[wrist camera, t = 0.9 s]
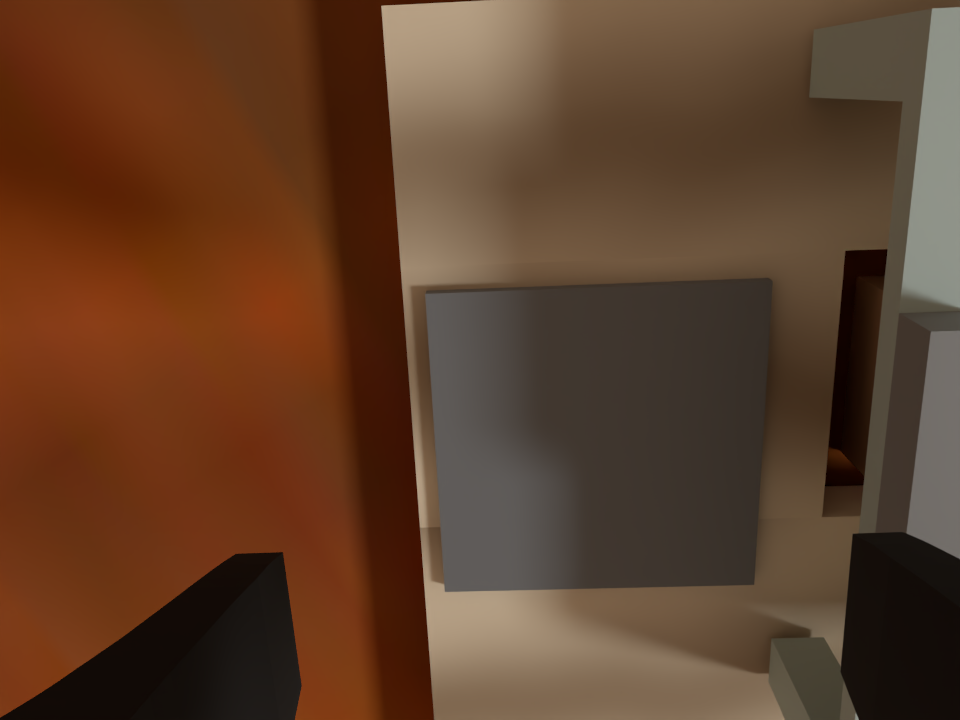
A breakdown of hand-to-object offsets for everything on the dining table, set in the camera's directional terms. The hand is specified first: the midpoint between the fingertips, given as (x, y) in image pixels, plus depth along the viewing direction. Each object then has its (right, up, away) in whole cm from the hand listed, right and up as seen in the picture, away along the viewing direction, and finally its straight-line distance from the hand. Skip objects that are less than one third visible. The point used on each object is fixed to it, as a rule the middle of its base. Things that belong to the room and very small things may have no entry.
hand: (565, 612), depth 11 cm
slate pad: (+1, +1, +8) cm, 8 cm away
